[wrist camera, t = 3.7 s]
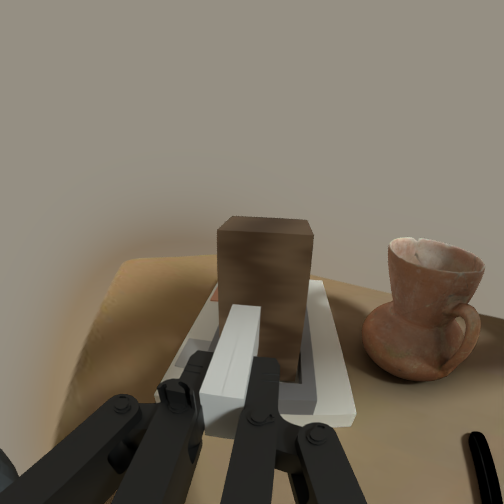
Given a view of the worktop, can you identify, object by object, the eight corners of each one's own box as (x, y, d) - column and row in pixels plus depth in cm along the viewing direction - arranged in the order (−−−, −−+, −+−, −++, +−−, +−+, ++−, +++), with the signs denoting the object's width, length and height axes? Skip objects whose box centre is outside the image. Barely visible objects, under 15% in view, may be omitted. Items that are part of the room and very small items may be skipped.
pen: (482, 547, 2) (495, 540, 1) (463, 436, 15) (472, 426, 14) (495, 540, 2) (508, 533, 1) (474, 434, 15) (482, 424, 14)
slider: (294, 345, 29) (307, 219, 25) (294, 381, 23) (313, 235, 19) (232, 340, 30) (232, 216, 26) (221, 375, 24) (217, 230, 20)
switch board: (320, 290, 48) (323, 270, 47) (350, 426, 20) (362, 399, 18) (222, 284, 50) (222, 263, 49) (158, 408, 22) (149, 379, 20)
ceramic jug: (343, 324, 37) (358, 228, 33) (423, 319, 37) (444, 234, 32) (380, 420, 20) (432, 291, 16) (479, 392, 20) (529, 284, 15)
